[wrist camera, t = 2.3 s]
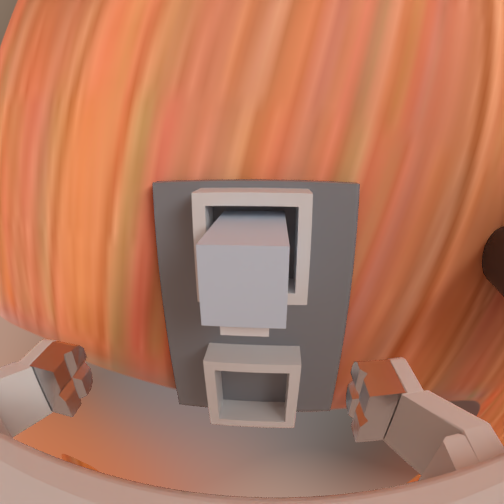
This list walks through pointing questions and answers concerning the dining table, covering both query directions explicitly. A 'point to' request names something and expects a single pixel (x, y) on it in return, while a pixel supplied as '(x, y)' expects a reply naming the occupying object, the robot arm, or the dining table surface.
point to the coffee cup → (495, 259)
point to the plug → (244, 273)
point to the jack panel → (298, 304)
